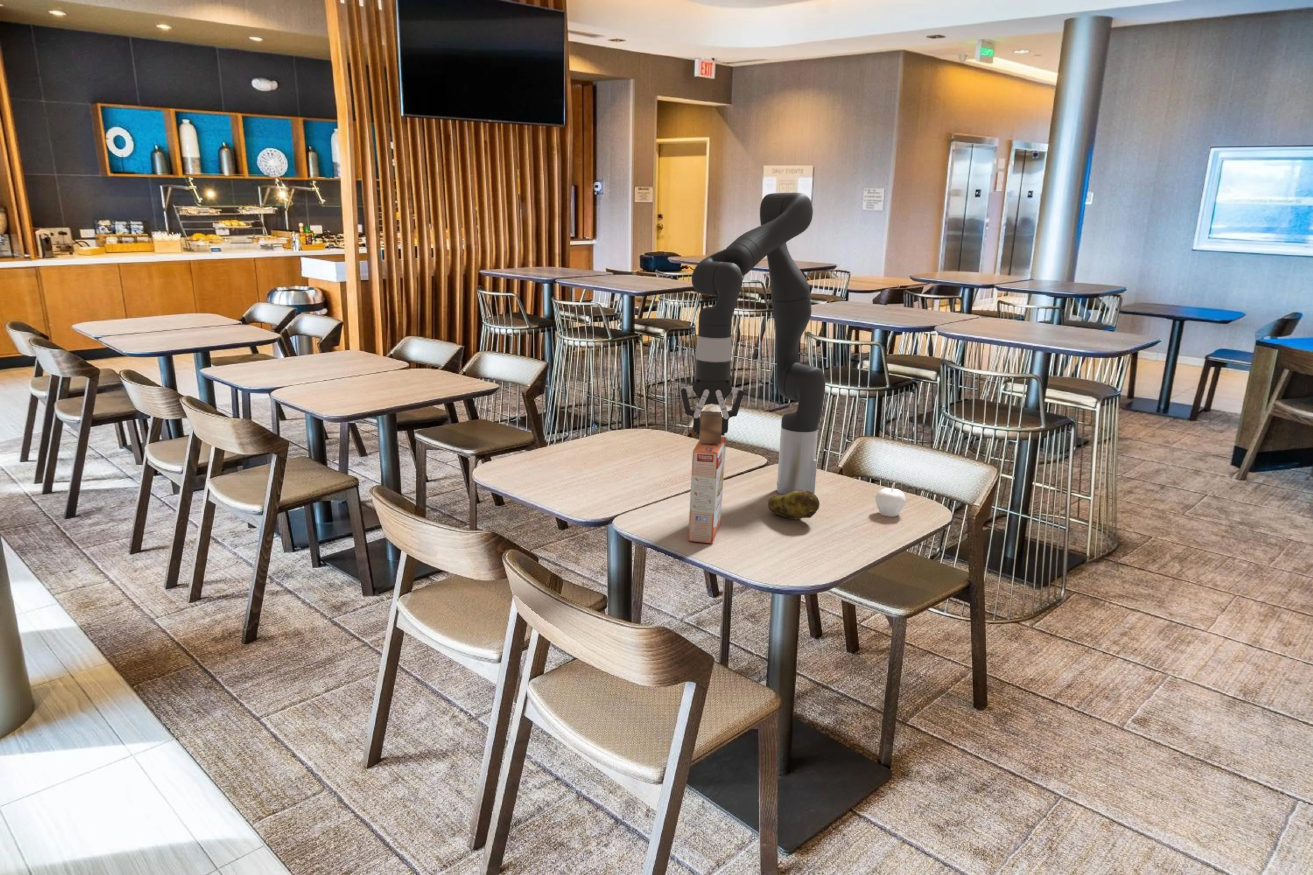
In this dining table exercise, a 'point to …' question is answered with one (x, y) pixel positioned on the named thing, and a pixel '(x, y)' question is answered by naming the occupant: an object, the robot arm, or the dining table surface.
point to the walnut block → (710, 427)
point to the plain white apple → (890, 501)
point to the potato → (795, 504)
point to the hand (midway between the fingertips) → (710, 434)
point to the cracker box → (706, 491)
